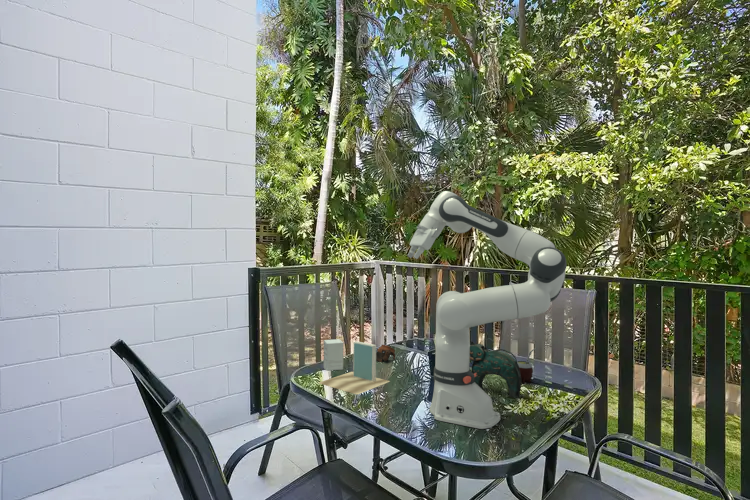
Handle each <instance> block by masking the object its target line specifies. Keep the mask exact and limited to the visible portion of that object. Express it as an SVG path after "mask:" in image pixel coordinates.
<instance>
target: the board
mask: <svg viewBox="0 0 750 500" xmlns="http://www.w3.org/2000/svg"><path fill="white" fill-rule="evenodd" d="M389 382H390V383H391V381H390V380H387V379H384V378H379V377H376V381H373V382H372V381H368V380H364V379H361V378H357V377H353V371H349V372H347V373H344V374H341V375H340V374H339V375H337V376H335V377H332V378H329V379H328V378H327V379H326V380H322V381H319V382H318V384H320V385H323V386H327V387H329V388H334V389H337V390H340V391H344V392H347V393H350V394H354V395H361V394H362V393H365V392H367V391H371V390H373V389H375V388H377V387H381V386H383V385H385V384H387V383H389Z"/></svg>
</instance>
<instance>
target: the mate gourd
mask: <svg viewBox="0 0 750 500" xmlns="http://www.w3.org/2000/svg"><path fill="white" fill-rule="evenodd" d="M536 350H537V347H535V348H533V349H532V350H530V351H529V353H528V356H527V359H526V360H517V363H518V365H519V369H520V375H521V384H522V385H526V383H528V384H531V383H532V378H533V369H534V368H533V366H532V364H531V363H530V361H529V359H530V357H531V355H532V352H534V351H536Z"/></svg>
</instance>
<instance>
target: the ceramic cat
mask: <svg viewBox="0 0 750 500" xmlns="http://www.w3.org/2000/svg"><path fill="white" fill-rule="evenodd" d="M487 340H490V341H491V342H492V343H495V341H494V340H493V339H492V338H491V337H490V338H489V337H488V338H486V339H485V340H484V343H486V341H487ZM470 361H472V364H471V372H472V373H473V374H474V373H477V374H476V375H477V376H476V375H475V376H476V377H474V382H475V383H476V384H477V385H478V386H479V387H480V388H481V389H483V387H484V384H483V383H484V379H485V377H486V376H487V375H496V376H499V377H501V378H502V379H504V380H505V382H506V385H507V389H508V393H509V394H508V395H509V397H510V398H513V399H518V398H519V397H520V393H521V387H522V382H521V375H520V369H519V365H518V363H517V361H518V360H517V358H516V356H515V354H514V353H512V352H511V351H509V350H506V349H502V348H500V349H499V348H498V349H494V350H491V349H489V348H488V347H487V346H486V344H481V343H477V344H476V343H475V342H474V341H471V342H470Z"/></svg>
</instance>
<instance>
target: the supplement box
mask: <svg viewBox="0 0 750 500" xmlns="http://www.w3.org/2000/svg"><path fill="white" fill-rule="evenodd" d="M323 369H324V371H327V372H328V371H339V370H344V342H343V341H342V340H341V339H340V338H337V339H335V338H334V339H324V340H323Z"/></svg>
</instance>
